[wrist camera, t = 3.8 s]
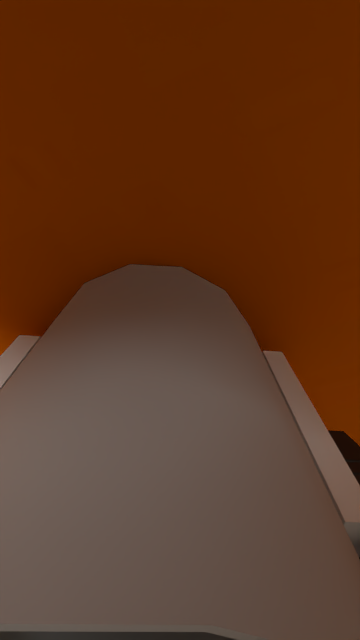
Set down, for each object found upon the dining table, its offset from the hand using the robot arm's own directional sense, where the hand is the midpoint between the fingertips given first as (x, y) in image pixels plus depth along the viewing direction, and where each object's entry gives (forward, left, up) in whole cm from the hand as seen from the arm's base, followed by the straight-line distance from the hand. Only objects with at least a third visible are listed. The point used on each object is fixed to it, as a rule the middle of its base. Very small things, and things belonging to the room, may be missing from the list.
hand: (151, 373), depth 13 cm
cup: (0, 0, -1) cm, 1 cm away
